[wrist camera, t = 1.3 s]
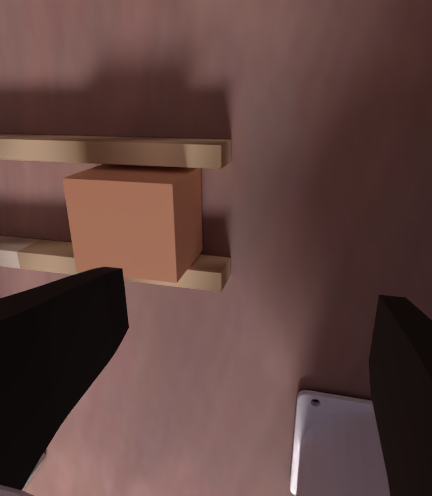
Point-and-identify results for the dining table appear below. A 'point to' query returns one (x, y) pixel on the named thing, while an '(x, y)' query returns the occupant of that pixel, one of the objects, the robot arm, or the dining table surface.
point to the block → (136, 219)
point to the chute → (112, 152)
